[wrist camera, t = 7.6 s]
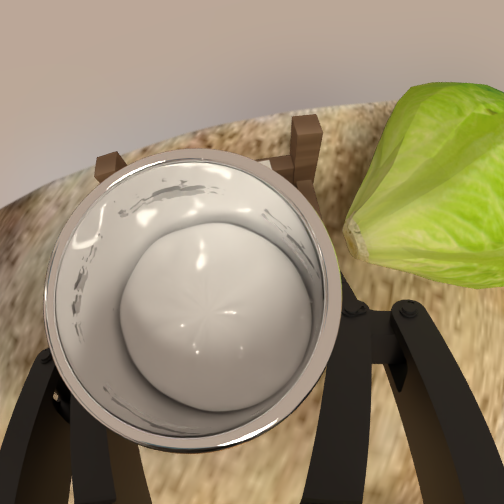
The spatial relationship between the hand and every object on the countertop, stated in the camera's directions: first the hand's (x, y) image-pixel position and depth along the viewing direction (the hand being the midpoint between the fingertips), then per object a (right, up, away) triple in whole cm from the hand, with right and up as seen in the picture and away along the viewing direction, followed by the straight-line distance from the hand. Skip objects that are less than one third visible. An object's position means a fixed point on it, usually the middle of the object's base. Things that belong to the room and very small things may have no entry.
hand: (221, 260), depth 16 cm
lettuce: (+20, +3, +12) cm, 24 cm away
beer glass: (+1, -5, +4) cm, 6 cm away
